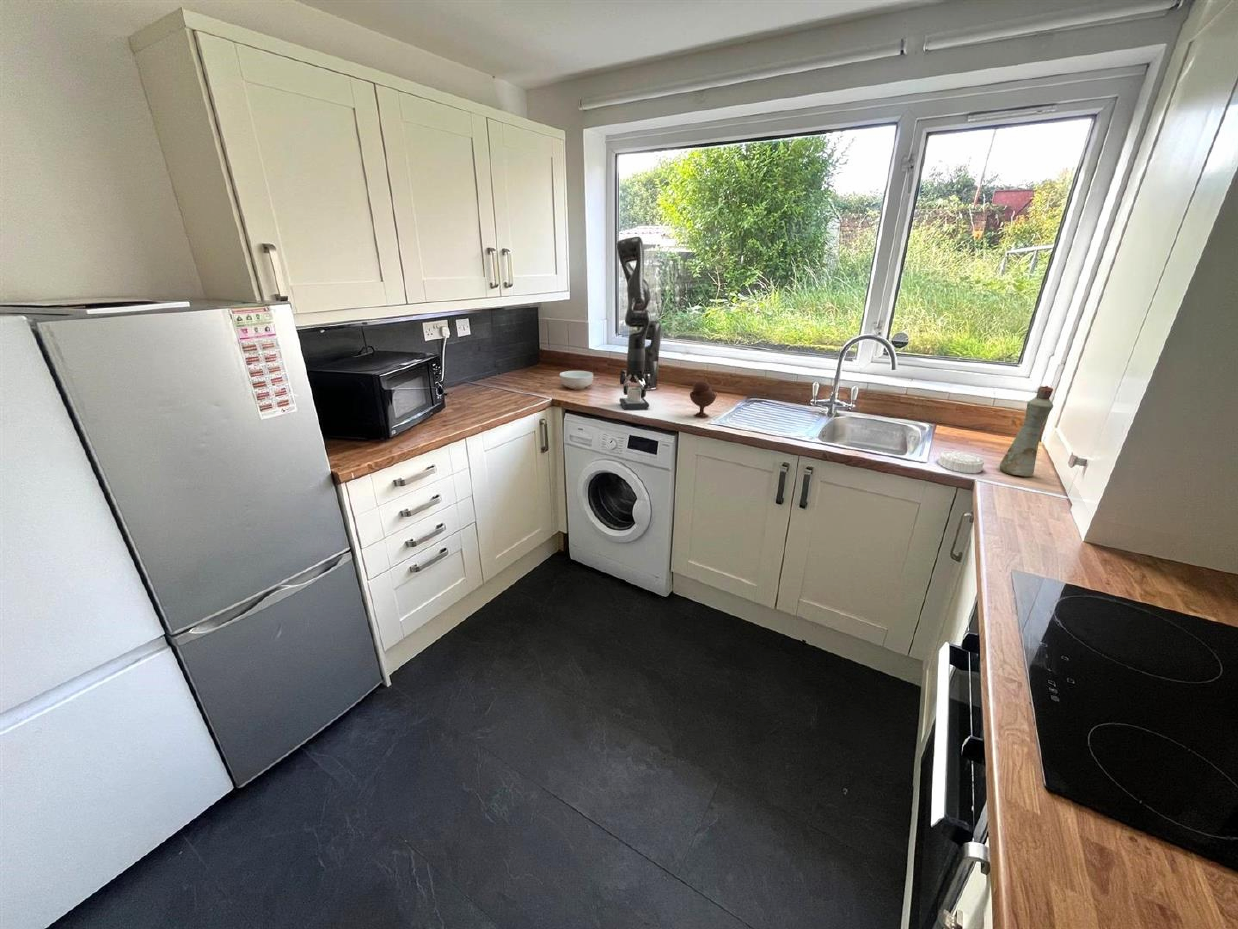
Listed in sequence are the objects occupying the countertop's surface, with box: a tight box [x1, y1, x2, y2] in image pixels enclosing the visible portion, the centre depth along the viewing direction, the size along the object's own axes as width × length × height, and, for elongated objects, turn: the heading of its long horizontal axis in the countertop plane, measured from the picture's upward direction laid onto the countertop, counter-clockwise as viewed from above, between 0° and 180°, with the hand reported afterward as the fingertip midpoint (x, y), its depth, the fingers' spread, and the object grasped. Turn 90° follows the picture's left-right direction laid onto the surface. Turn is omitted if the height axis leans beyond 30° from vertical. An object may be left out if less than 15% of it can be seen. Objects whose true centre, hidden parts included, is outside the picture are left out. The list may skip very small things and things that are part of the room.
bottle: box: [998, 385, 1054, 478], centre depth 152 cm, size 9×9×28 cm
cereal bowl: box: [559, 370, 594, 390], centre depth 247 cm, size 17×17×7 cm
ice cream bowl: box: [689, 380, 718, 419], centre depth 204 cm, size 11×11×15 cm
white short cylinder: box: [626, 386, 641, 402], centre depth 216 cm, size 6×6×5 cm
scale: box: [619, 397, 650, 411], centre depth 218 cm, size 11×11×2 cm
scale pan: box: [623, 397, 645, 404], centre depth 217 cm, size 8×8×2 cm
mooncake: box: [937, 450, 985, 474], centre depth 160 cm, size 12×12×4 cm
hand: (634, 396), depth 216 cm, fingers open, 8 cm apart
